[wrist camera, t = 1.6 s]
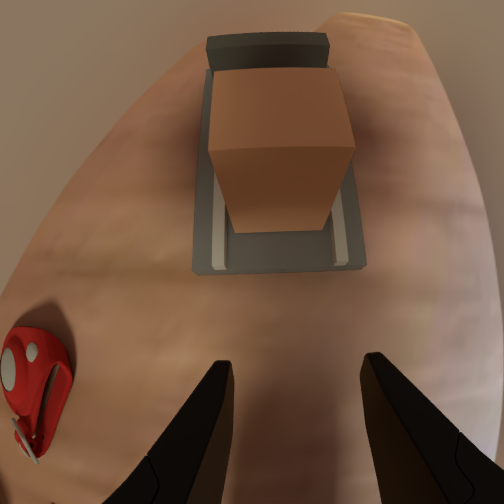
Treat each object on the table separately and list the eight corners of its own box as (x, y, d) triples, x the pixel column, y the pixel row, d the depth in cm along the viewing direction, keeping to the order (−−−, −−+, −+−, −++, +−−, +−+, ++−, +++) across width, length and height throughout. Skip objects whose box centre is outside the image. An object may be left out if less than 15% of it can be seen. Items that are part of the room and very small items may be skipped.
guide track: (360, 269, 22) (391, 242, 16) (197, 275, 23) (169, 249, 17) (326, 75, 28) (334, 26, 22) (209, 79, 28) (197, 31, 22)
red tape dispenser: (-14, 347, 21) (23, 295, 20) (20, 354, 25) (64, 307, 24) (12, 467, 15) (57, 447, 14) (51, 465, 19) (104, 442, 18)
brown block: (322, 230, 21) (355, 147, 12) (235, 233, 22) (207, 150, 12) (315, 167, 23) (335, 68, 13) (235, 170, 23) (214, 71, 14)
